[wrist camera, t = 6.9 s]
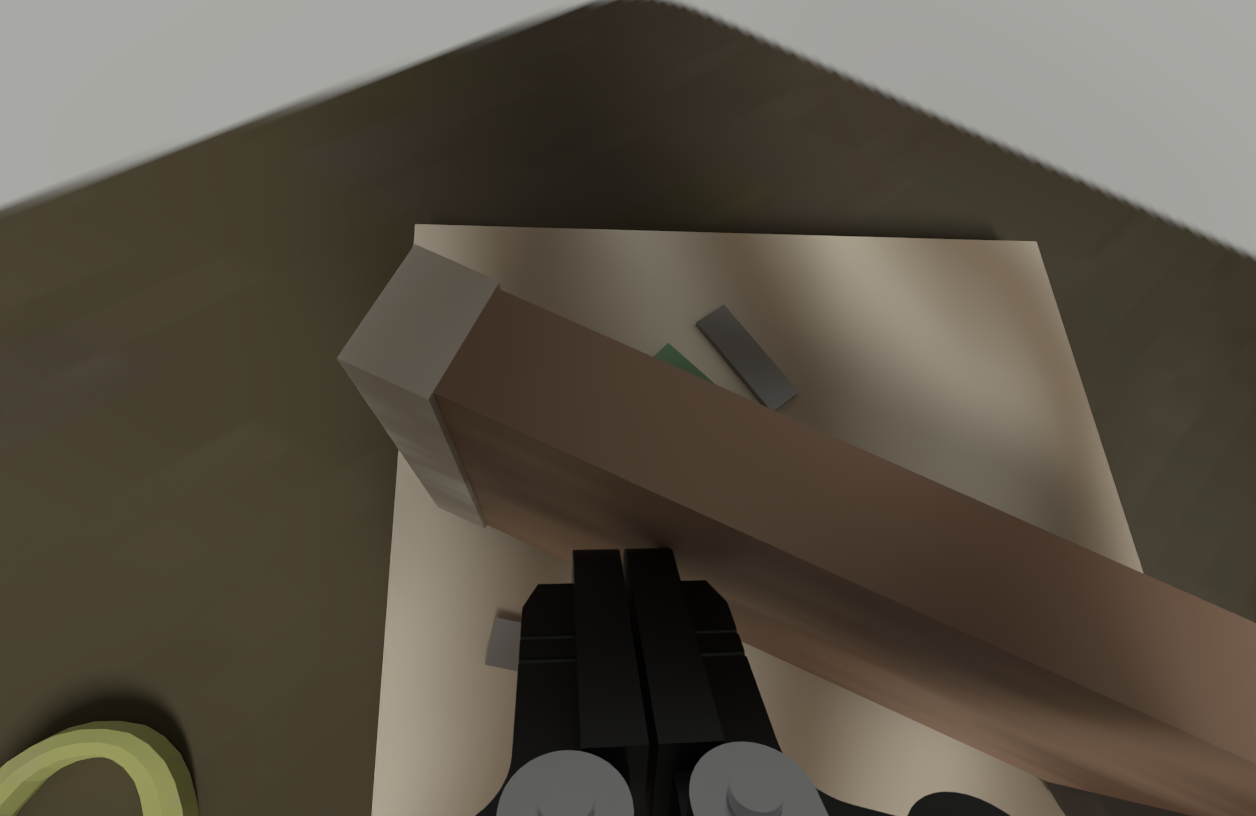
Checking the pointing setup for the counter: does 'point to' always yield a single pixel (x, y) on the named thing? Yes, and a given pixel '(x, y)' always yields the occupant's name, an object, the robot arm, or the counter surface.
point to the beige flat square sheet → (796, 387)
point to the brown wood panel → (817, 548)
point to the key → (125, 743)
